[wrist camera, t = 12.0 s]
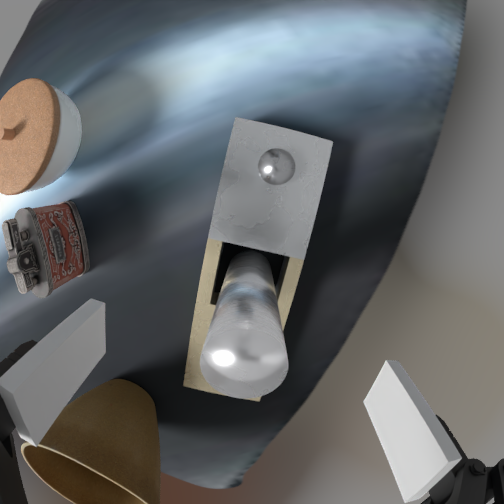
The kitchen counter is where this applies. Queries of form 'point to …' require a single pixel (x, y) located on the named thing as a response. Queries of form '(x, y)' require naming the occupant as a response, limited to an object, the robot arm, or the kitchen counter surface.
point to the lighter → (46, 247)
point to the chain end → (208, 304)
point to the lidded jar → (36, 136)
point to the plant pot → (102, 448)
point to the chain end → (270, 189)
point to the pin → (245, 332)
